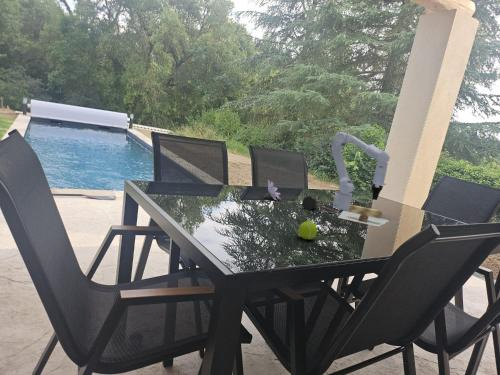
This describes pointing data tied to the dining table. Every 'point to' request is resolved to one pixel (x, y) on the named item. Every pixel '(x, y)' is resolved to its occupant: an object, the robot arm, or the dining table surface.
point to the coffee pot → (313, 204)
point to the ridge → (363, 218)
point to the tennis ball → (307, 230)
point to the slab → (355, 218)
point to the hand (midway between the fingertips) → (374, 198)
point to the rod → (365, 211)
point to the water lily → (272, 191)
